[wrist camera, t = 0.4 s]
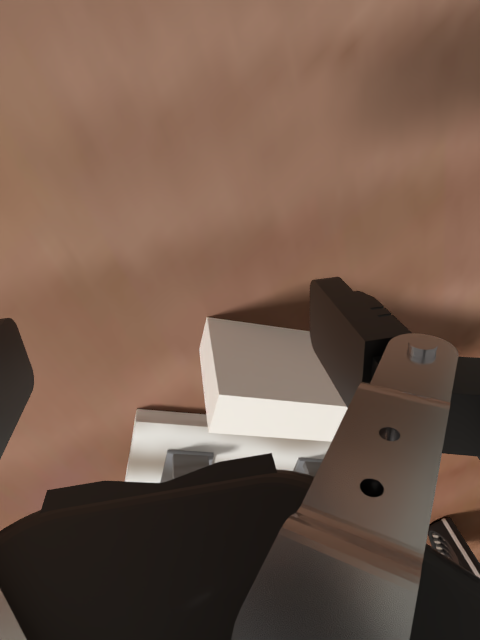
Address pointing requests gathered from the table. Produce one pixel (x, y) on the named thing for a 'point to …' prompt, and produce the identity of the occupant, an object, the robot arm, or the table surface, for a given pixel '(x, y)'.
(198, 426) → the cabinet side
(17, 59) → the table surface
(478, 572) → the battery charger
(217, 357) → the door
